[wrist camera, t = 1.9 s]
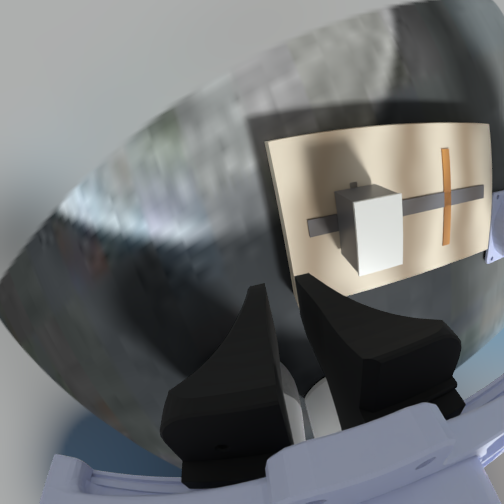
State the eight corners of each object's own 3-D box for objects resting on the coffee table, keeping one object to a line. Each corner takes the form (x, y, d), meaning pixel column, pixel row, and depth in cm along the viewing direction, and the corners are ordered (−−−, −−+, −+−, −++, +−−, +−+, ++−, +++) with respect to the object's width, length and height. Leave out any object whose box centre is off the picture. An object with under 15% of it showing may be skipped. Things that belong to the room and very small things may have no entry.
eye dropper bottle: (296, 385, 27) (321, 485, 16) (346, 365, 27) (387, 460, 16) (307, 405, 29) (331, 494, 18) (353, 386, 28) (389, 472, 17)
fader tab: (375, 183, 17) (401, 193, 14) (379, 244, 19) (402, 264, 16) (333, 190, 17) (354, 202, 14) (340, 254, 19) (359, 276, 16)
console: (474, 122, 18) (489, 124, 16) (475, 241, 22) (488, 249, 20) (264, 141, 18) (268, 141, 16) (293, 294, 23) (299, 309, 21)
